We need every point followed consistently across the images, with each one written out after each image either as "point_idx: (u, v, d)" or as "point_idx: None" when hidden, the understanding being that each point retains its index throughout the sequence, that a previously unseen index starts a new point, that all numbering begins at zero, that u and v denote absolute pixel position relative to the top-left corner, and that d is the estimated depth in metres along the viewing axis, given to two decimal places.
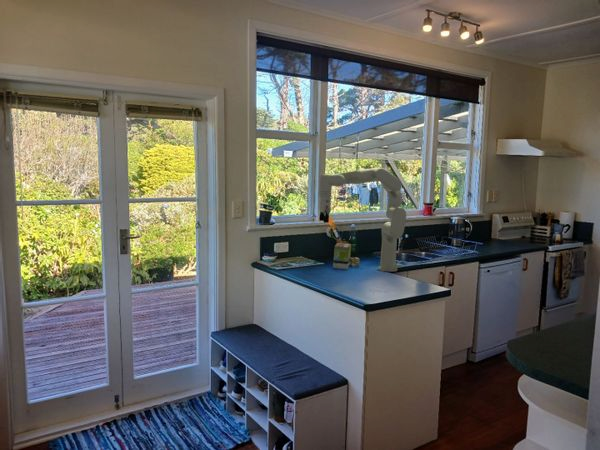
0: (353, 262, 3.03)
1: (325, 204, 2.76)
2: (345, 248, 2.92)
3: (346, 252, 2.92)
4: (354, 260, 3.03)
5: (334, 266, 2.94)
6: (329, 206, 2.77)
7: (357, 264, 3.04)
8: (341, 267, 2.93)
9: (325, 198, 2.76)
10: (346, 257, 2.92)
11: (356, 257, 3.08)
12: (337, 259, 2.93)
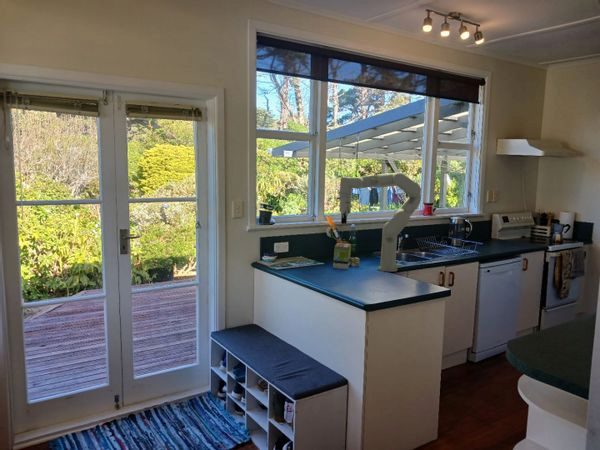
0: (353, 262, 3.03)
1: (345, 205, 2.91)
2: (345, 248, 2.92)
3: (346, 252, 2.92)
4: (354, 260, 3.03)
5: (334, 266, 2.94)
6: (349, 207, 2.91)
7: (357, 264, 3.04)
8: (341, 267, 2.93)
9: (345, 199, 2.91)
10: (346, 257, 2.92)
11: (356, 257, 3.08)
12: (337, 259, 2.93)
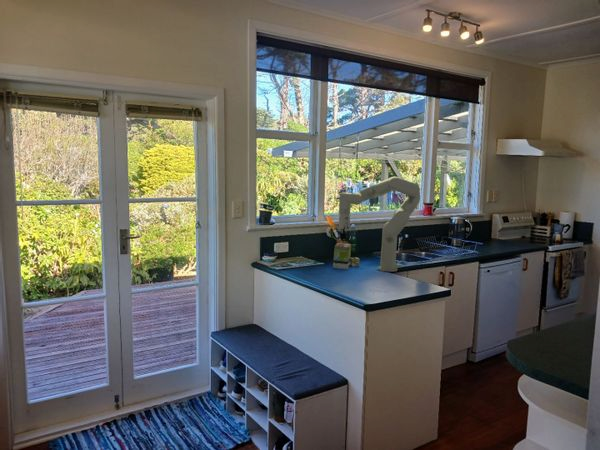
0: (353, 262, 3.03)
1: (345, 221, 2.92)
2: (345, 248, 2.92)
3: (346, 252, 2.92)
4: (354, 260, 3.03)
5: (334, 266, 2.94)
6: (348, 223, 2.93)
7: (357, 264, 3.04)
8: (341, 267, 2.93)
9: (345, 215, 2.92)
10: (346, 257, 2.92)
11: (356, 257, 3.08)
12: (337, 259, 2.93)
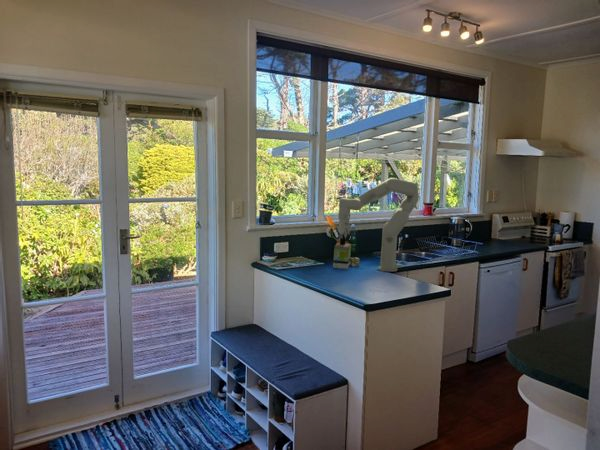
0: (353, 262, 3.03)
1: (344, 226, 2.92)
2: (345, 248, 2.92)
3: (346, 252, 2.92)
4: (354, 260, 3.03)
5: (334, 266, 2.94)
6: (348, 228, 2.93)
7: (357, 264, 3.04)
8: (341, 267, 2.93)
9: (344, 221, 2.92)
10: (346, 257, 2.92)
11: (356, 257, 3.08)
12: (337, 259, 2.93)
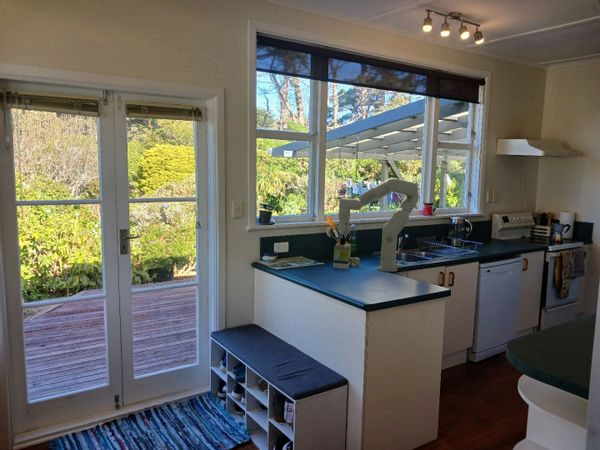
0: (353, 262, 3.03)
1: (344, 226, 2.92)
2: (345, 248, 2.92)
3: (346, 252, 2.92)
4: (354, 260, 3.03)
5: (334, 266, 2.94)
6: (348, 228, 2.93)
7: (357, 264, 3.04)
8: (341, 267, 2.93)
9: (344, 221, 2.92)
10: (346, 257, 2.92)
11: (356, 257, 3.08)
12: (337, 259, 2.93)
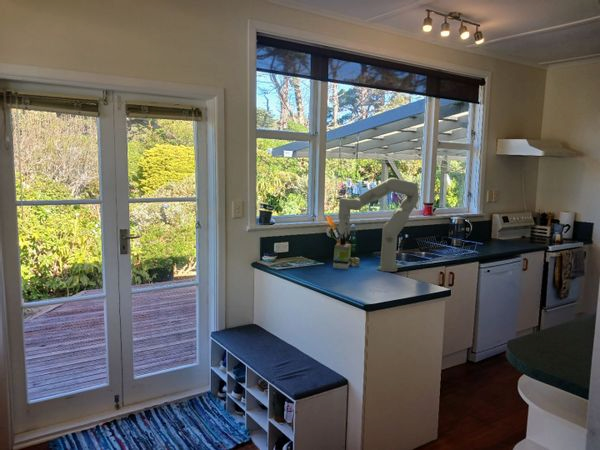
0: (353, 262, 3.03)
1: (344, 226, 2.92)
2: (345, 248, 2.92)
3: (346, 252, 2.92)
4: (354, 260, 3.03)
5: (334, 266, 2.94)
6: (348, 228, 2.93)
7: (357, 264, 3.04)
8: (341, 267, 2.93)
9: (344, 221, 2.92)
10: (346, 257, 2.92)
11: (356, 257, 3.08)
12: (337, 259, 2.93)
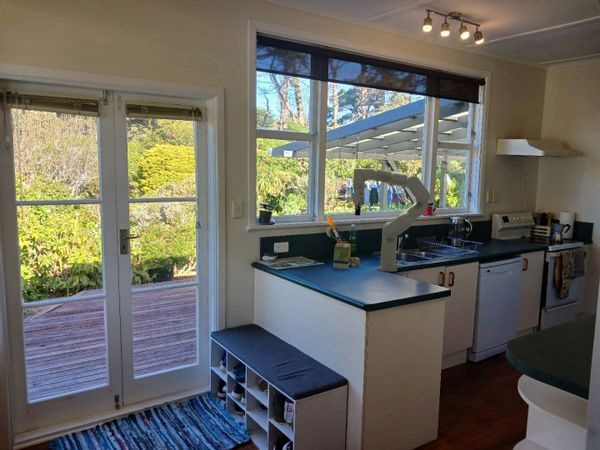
0: (353, 262, 3.03)
1: (359, 196, 2.89)
2: (345, 248, 2.92)
3: (346, 252, 2.92)
4: (354, 260, 3.03)
5: (334, 266, 2.94)
6: (363, 198, 2.89)
7: (357, 264, 3.04)
8: (341, 267, 2.93)
9: (359, 191, 2.89)
10: (346, 257, 2.92)
11: (356, 257, 3.08)
12: (337, 259, 2.93)
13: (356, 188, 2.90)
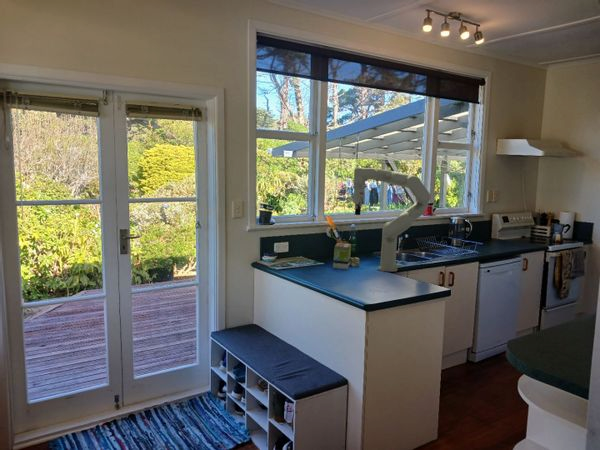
0: (353, 262, 3.03)
1: (359, 196, 2.89)
2: (345, 248, 2.92)
3: (346, 252, 2.92)
4: (354, 260, 3.03)
5: (334, 266, 2.94)
6: (363, 198, 2.89)
7: (357, 264, 3.04)
8: (341, 267, 2.93)
9: (359, 190, 2.89)
10: (346, 257, 2.92)
11: (356, 257, 3.08)
12: (337, 259, 2.93)
13: (356, 187, 2.90)
